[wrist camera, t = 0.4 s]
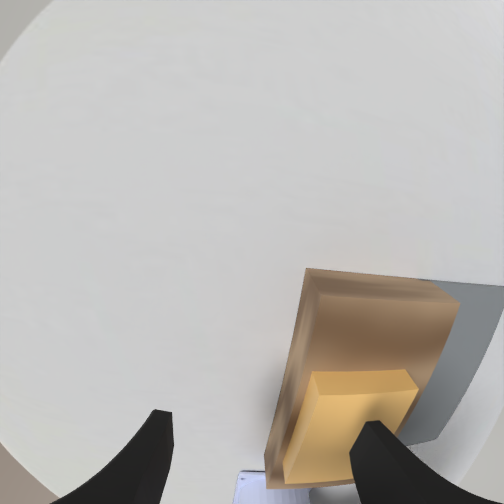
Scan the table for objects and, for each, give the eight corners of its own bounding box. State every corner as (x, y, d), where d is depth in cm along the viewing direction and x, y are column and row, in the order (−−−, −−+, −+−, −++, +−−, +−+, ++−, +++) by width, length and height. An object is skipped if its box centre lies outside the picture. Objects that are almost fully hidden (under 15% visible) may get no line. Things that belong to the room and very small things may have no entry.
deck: (356, 450, 23) (366, 481, 19) (264, 454, 23) (266, 489, 19) (428, 279, 18) (460, 303, 14) (305, 267, 18) (321, 295, 14)
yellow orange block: (359, 457, 18) (365, 476, 16) (282, 462, 18) (284, 483, 16) (405, 369, 15) (418, 389, 13) (312, 371, 15) (319, 395, 13)
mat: (434, 436, 23) (436, 439, 23) (346, 451, 23) (347, 454, 23) (507, 286, 19) (510, 288, 18) (417, 278, 18) (420, 280, 18)
